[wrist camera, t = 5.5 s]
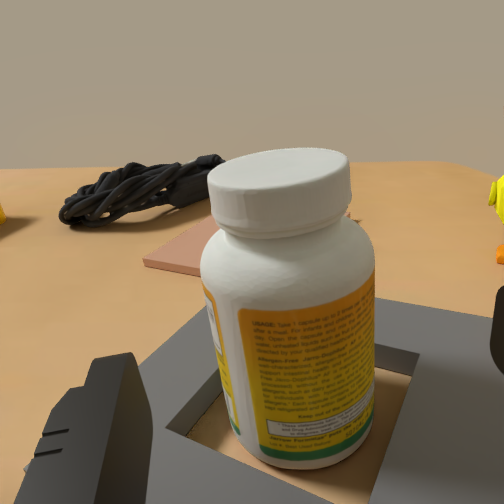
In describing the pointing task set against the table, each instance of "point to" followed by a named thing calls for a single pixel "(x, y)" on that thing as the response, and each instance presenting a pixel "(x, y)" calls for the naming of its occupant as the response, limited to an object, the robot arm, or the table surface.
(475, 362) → the socket block
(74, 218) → the cable
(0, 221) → the element tile
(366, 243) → the supplement bottle
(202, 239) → the terracotta tile
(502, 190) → the toy figure
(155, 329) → the table surface
